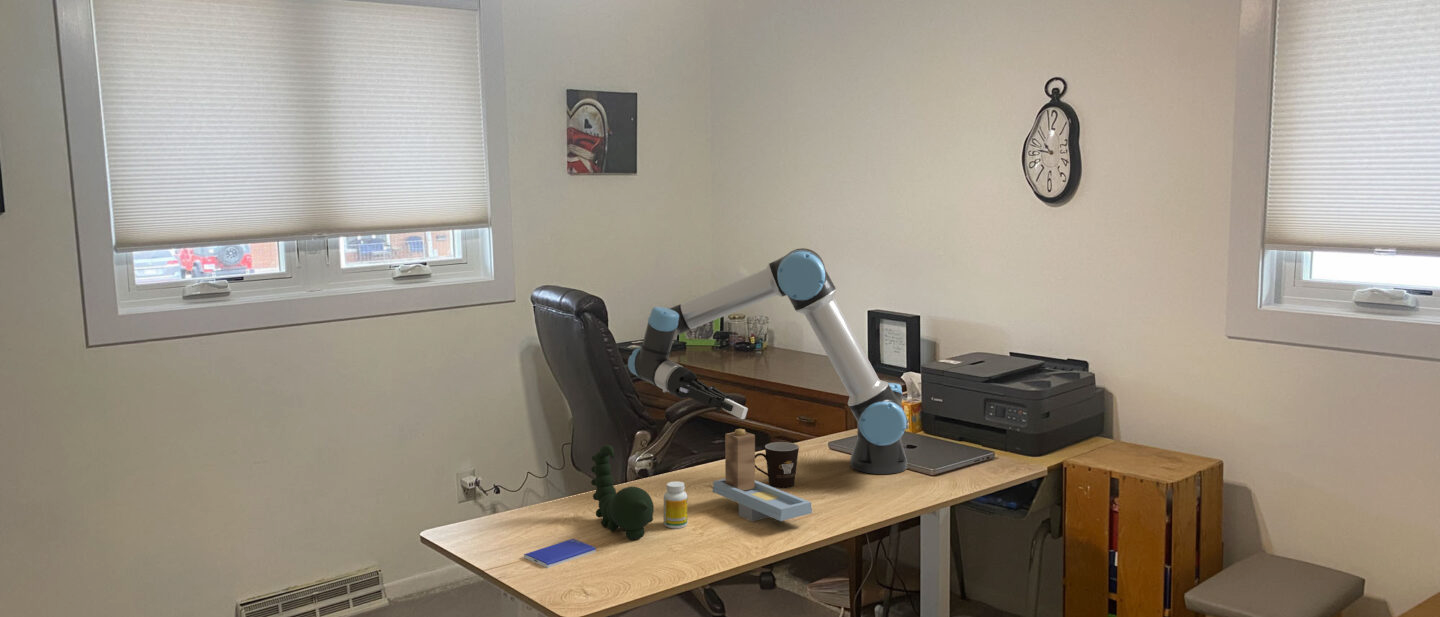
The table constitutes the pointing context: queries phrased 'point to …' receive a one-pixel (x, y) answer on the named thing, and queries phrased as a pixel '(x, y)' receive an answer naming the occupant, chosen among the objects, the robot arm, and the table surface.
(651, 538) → the table surface
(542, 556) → the hard drive
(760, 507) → the beam
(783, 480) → the coffee mug
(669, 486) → the supplement bottle
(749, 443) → the brown block with knob
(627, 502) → the toy figurine
